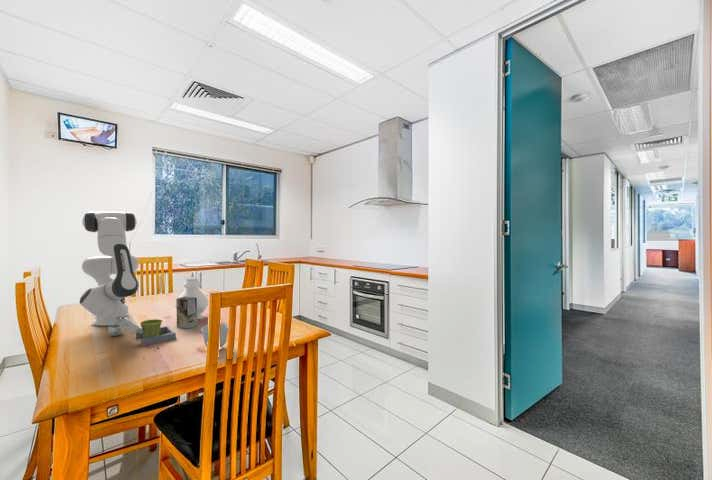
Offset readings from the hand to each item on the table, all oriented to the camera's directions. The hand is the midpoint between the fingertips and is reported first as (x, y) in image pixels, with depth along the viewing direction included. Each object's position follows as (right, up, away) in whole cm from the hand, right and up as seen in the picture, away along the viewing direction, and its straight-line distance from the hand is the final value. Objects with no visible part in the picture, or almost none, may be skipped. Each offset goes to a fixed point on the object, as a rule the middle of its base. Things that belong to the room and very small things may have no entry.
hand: (142, 332), depth 151 cm
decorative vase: (+4, -3, +40) cm, 40 cm away
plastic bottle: (-19, -4, +8) cm, 21 cm away
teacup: (+39, -5, -8) cm, 40 cm away
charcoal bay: (+4, -4, +4) cm, 7 cm away
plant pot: (+3, -4, +2) cm, 6 cm away
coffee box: (+9, -4, +24) cm, 26 cm away
